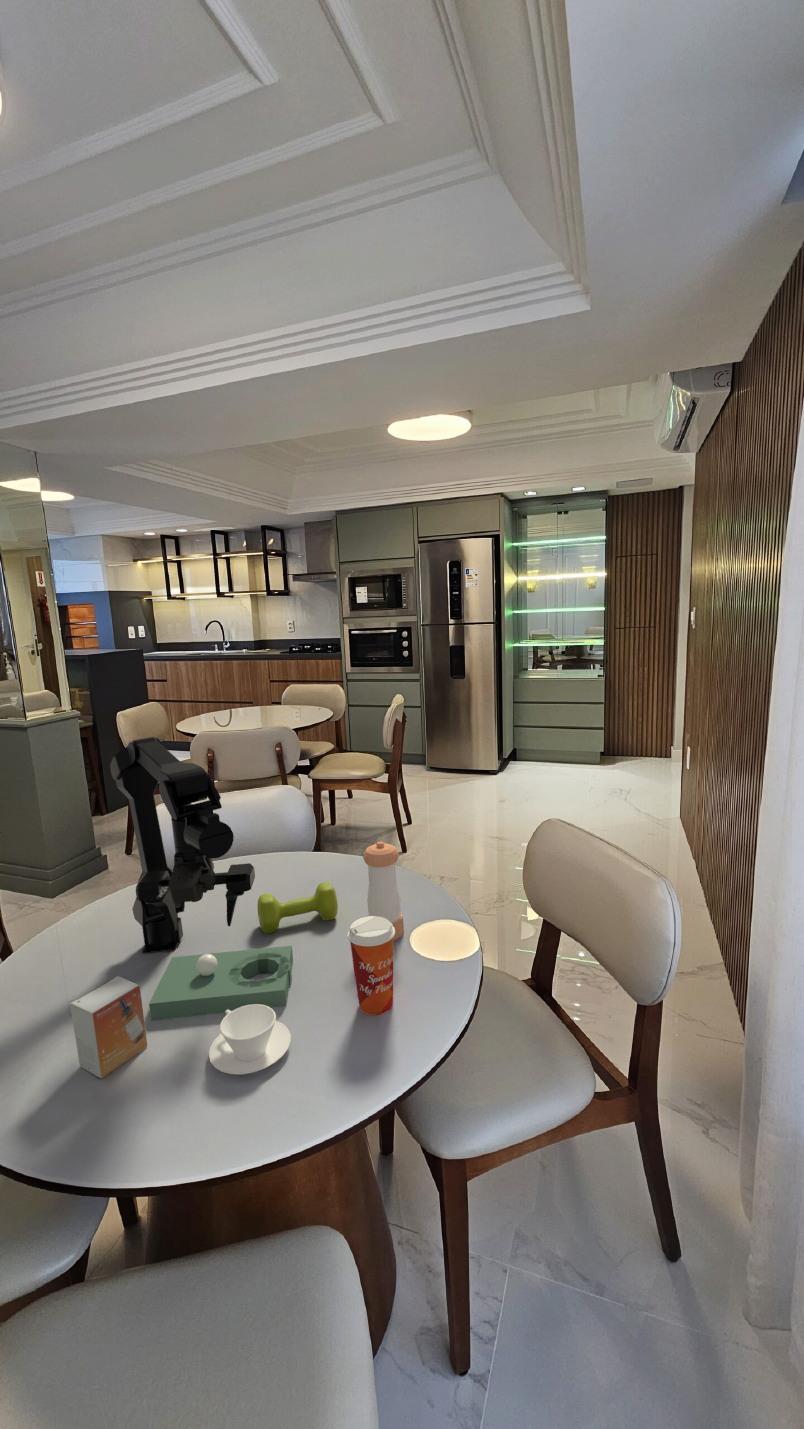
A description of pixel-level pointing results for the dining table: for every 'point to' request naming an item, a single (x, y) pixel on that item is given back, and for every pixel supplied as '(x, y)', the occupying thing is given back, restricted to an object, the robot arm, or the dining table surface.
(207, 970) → the ball
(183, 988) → the green slab with hollow
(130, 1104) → the dining table surface
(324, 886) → the dumbbell
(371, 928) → the paper cup
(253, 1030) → the teacup
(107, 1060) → the small box
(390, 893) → the salt shaker
